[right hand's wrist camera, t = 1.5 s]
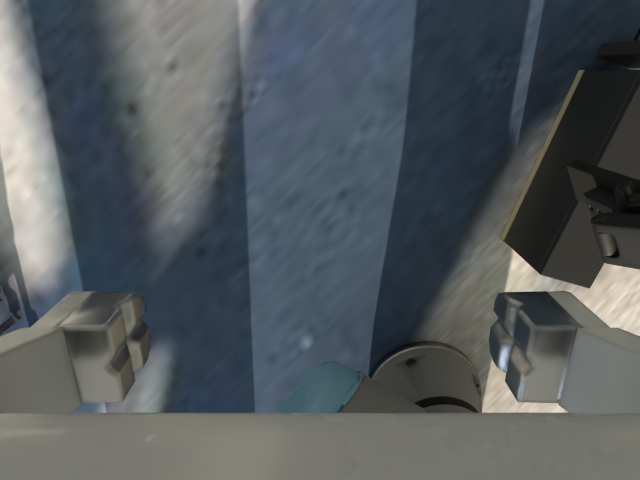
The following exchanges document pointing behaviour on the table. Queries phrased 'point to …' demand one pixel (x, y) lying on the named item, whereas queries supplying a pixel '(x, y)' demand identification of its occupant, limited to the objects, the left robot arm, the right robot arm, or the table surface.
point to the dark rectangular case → (554, 180)
